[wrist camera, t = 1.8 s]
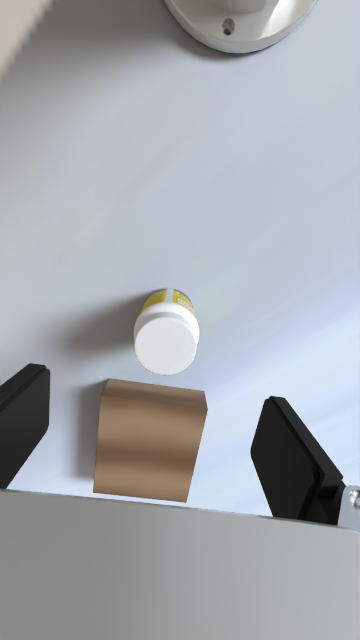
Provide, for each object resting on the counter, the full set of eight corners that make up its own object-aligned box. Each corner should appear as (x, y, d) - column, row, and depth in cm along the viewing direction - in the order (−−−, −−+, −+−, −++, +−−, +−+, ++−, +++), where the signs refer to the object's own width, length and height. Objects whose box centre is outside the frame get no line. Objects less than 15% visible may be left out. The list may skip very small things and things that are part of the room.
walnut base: (109, 378, 26) (100, 395, 23) (204, 391, 26) (207, 409, 23) (101, 468, 29) (93, 492, 26) (185, 477, 30) (186, 502, 27)
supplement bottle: (141, 332, 24) (124, 377, 16) (145, 284, 23) (128, 307, 15) (190, 337, 24) (197, 383, 16) (196, 290, 23) (207, 315, 15)
